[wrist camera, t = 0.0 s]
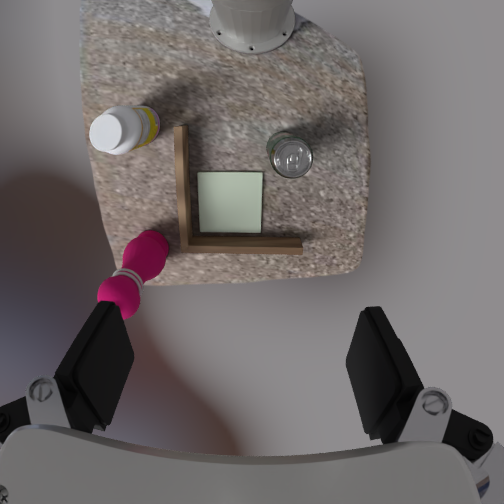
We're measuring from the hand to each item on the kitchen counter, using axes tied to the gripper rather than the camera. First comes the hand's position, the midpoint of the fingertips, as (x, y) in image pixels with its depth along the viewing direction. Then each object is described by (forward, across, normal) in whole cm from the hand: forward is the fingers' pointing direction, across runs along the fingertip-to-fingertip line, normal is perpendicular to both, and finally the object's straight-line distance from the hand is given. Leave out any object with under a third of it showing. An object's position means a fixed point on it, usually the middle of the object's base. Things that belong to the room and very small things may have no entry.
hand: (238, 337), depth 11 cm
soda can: (+37, -5, -3) cm, 37 cm away
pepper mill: (+37, +17, +14) cm, 43 cm away
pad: (+37, +3, +6) cm, 37 cm away
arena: (+37, +1, +3) cm, 37 cm away
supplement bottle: (+37, +17, -7) cm, 41 cm away
